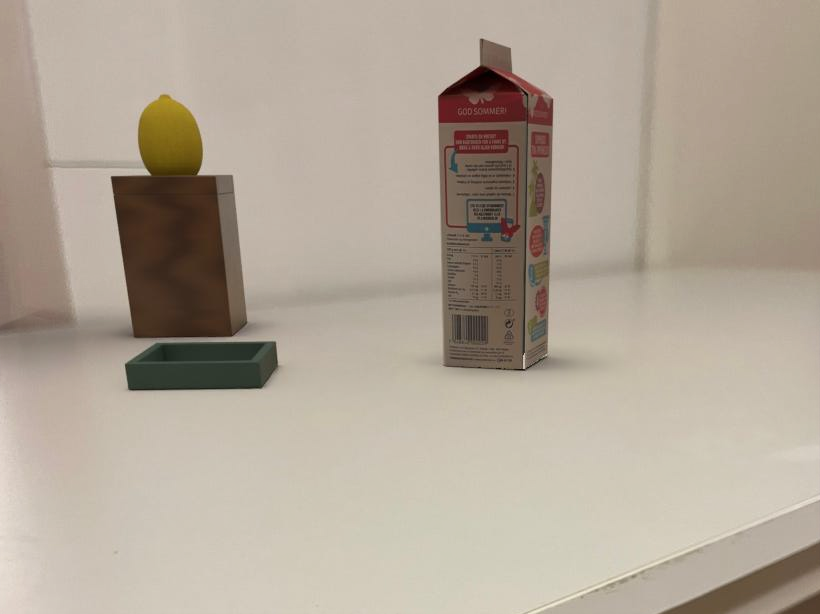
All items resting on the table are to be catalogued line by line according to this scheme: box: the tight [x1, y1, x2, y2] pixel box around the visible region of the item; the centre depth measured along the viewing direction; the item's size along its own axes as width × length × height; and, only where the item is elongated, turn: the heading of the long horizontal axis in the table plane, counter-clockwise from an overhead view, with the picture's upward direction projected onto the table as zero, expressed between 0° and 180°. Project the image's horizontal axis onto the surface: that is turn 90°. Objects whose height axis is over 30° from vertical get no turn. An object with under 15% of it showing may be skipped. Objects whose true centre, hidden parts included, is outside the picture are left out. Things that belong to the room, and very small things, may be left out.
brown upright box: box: [110, 174, 248, 338], centre depth 94 cm, size 9×9×14 cm
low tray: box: [124, 340, 279, 390], centre depth 75 cm, size 9×9×2 cm
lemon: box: [137, 93, 204, 176], centre depth 90 cm, size 6×6×8 cm
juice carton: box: [437, 37, 554, 370], centre depth 76 cm, size 7×7×22 cm
